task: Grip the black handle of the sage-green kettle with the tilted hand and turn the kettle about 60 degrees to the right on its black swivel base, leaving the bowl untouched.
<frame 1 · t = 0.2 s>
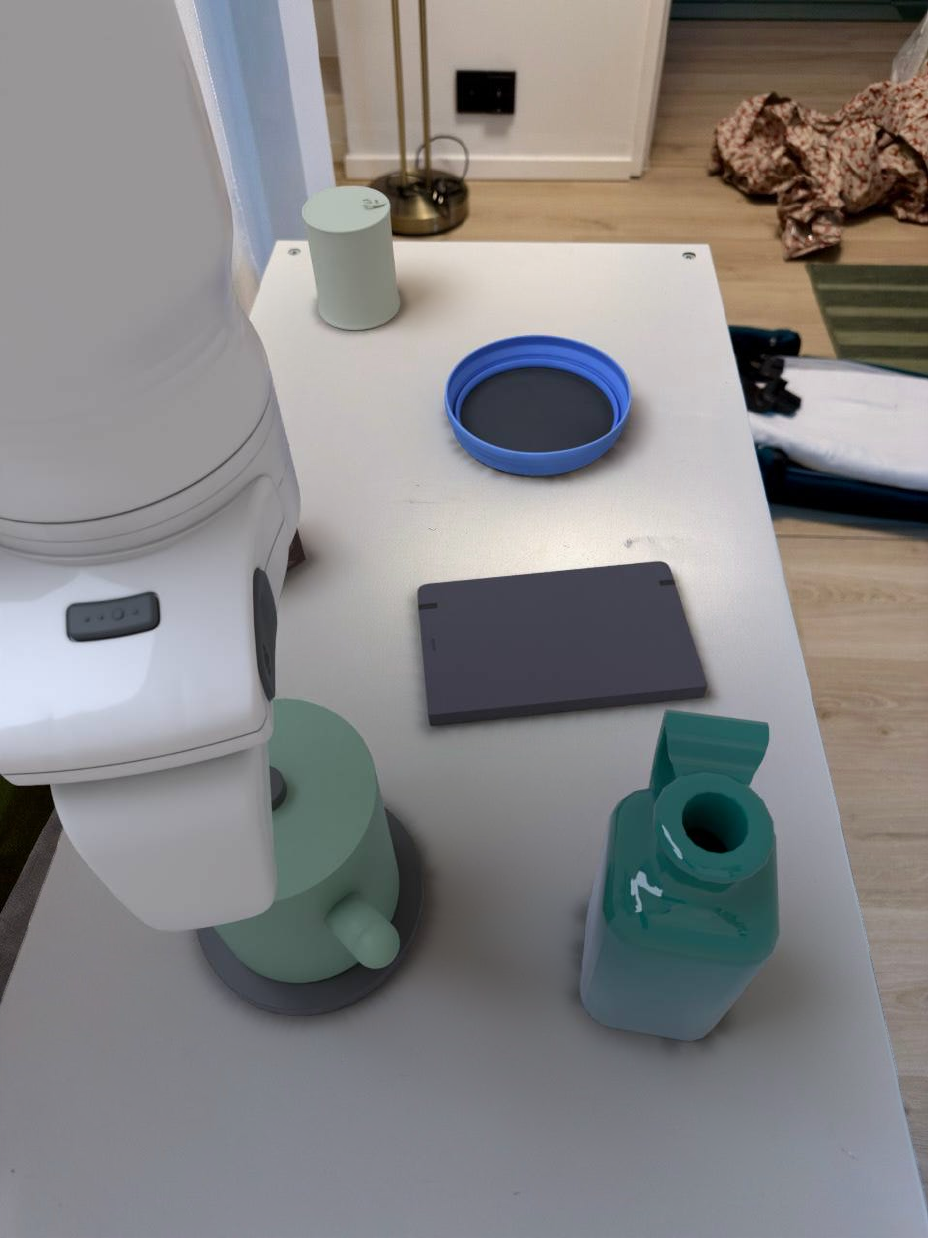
hand: (244, 726, 37), 28 cm above the table, tool pointing down, fingers open, 8 cm apart
bowl: (536, 420, 89), on the table
kettle base: (312, 897, 60), on the table
box: (260, 562, 79), on the table
can: (359, 307, 101), on the table
notebook: (554, 645, 73), on the table
kettle: (277, 830, 54), point 9 cm above the table, hinge at 0.0°
pitcher: (649, 956, 58), on the table
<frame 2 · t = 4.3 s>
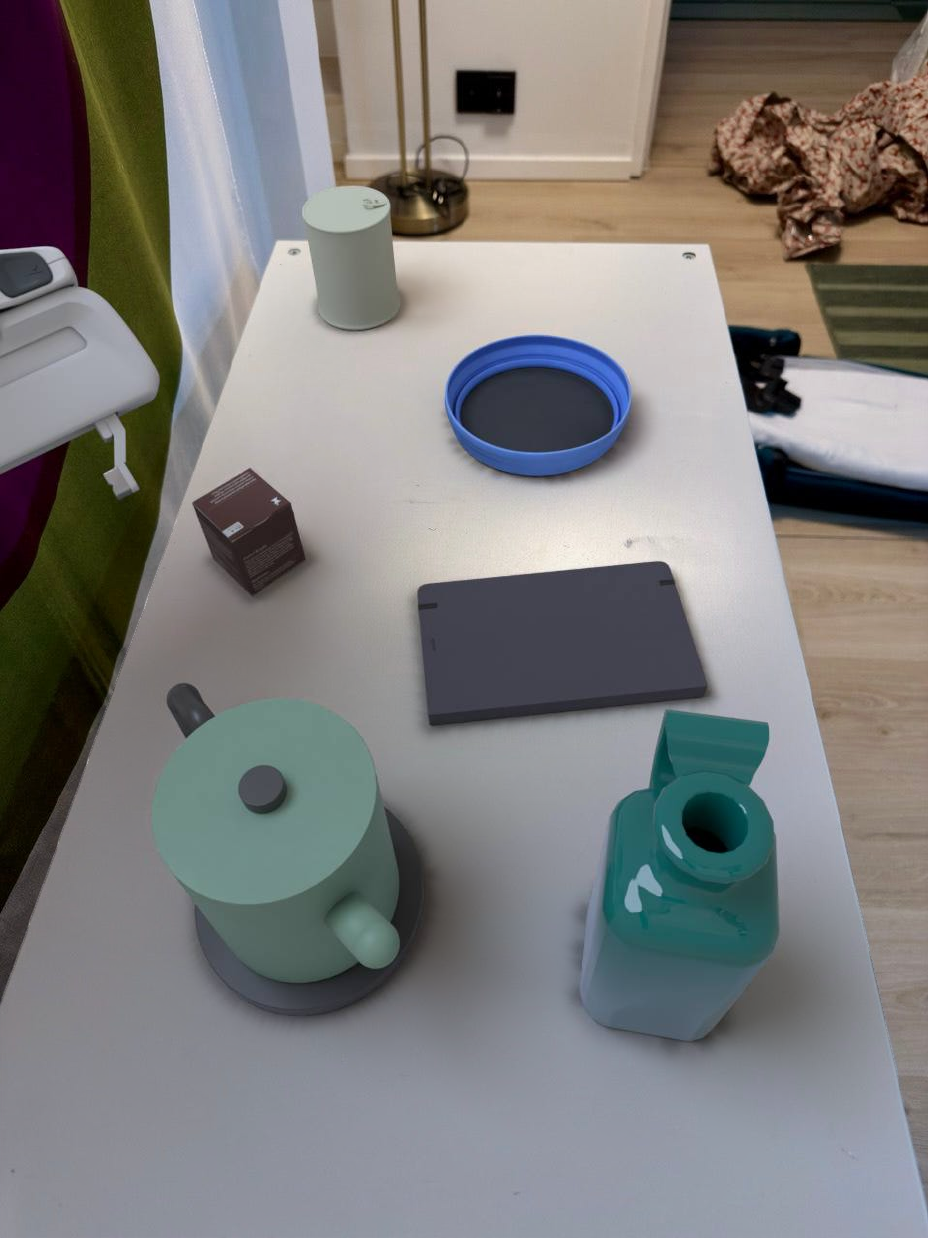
hand: (59, 530, 56), 19 cm above the table, tool tilted 45°, fingers open, 8 cm apart
nothing on the table moved.
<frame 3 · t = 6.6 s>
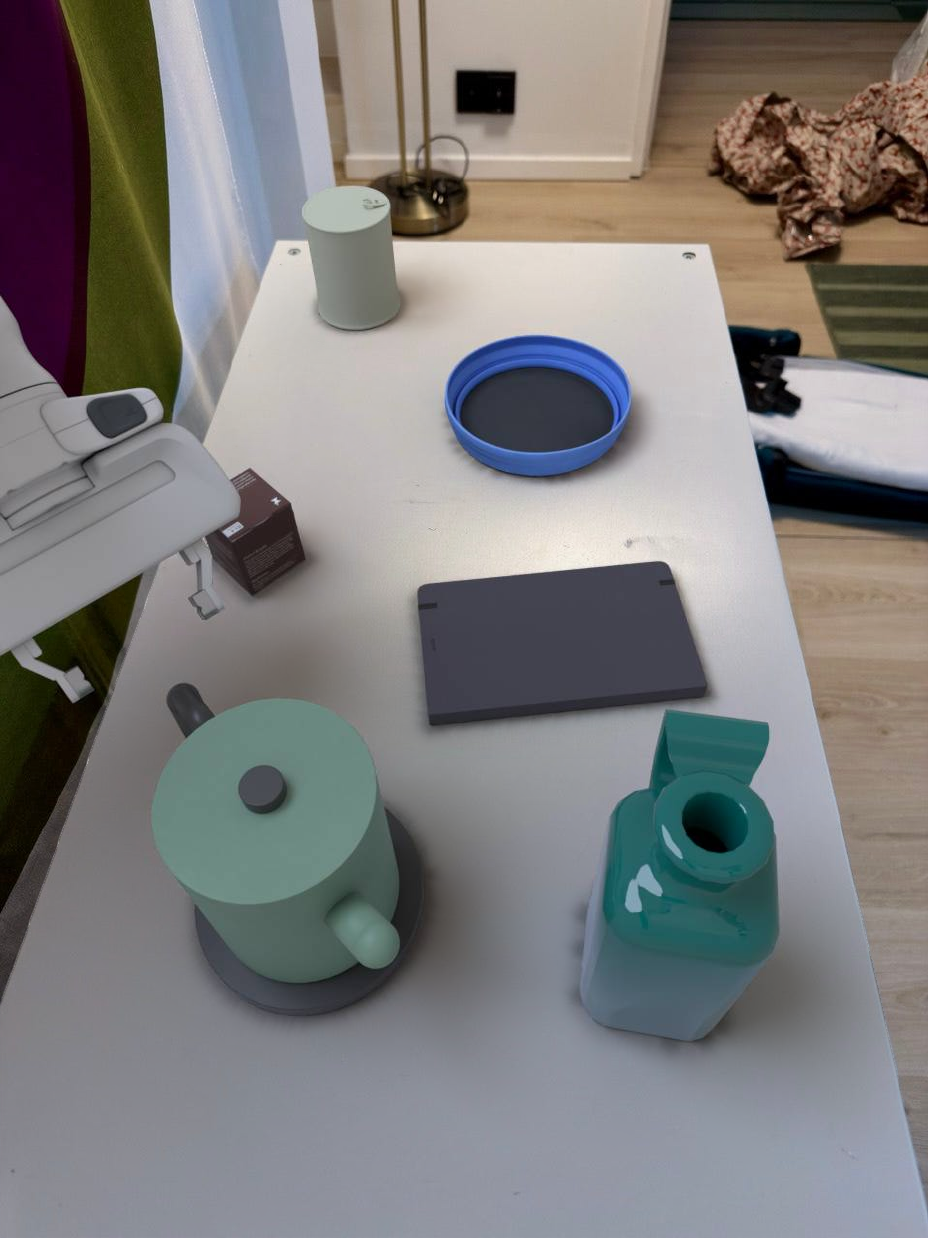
hand: (150, 654, 57), 13 cm above the table, tool tilted 45°, fingers open, 8 cm apart
nothing on the table moved.
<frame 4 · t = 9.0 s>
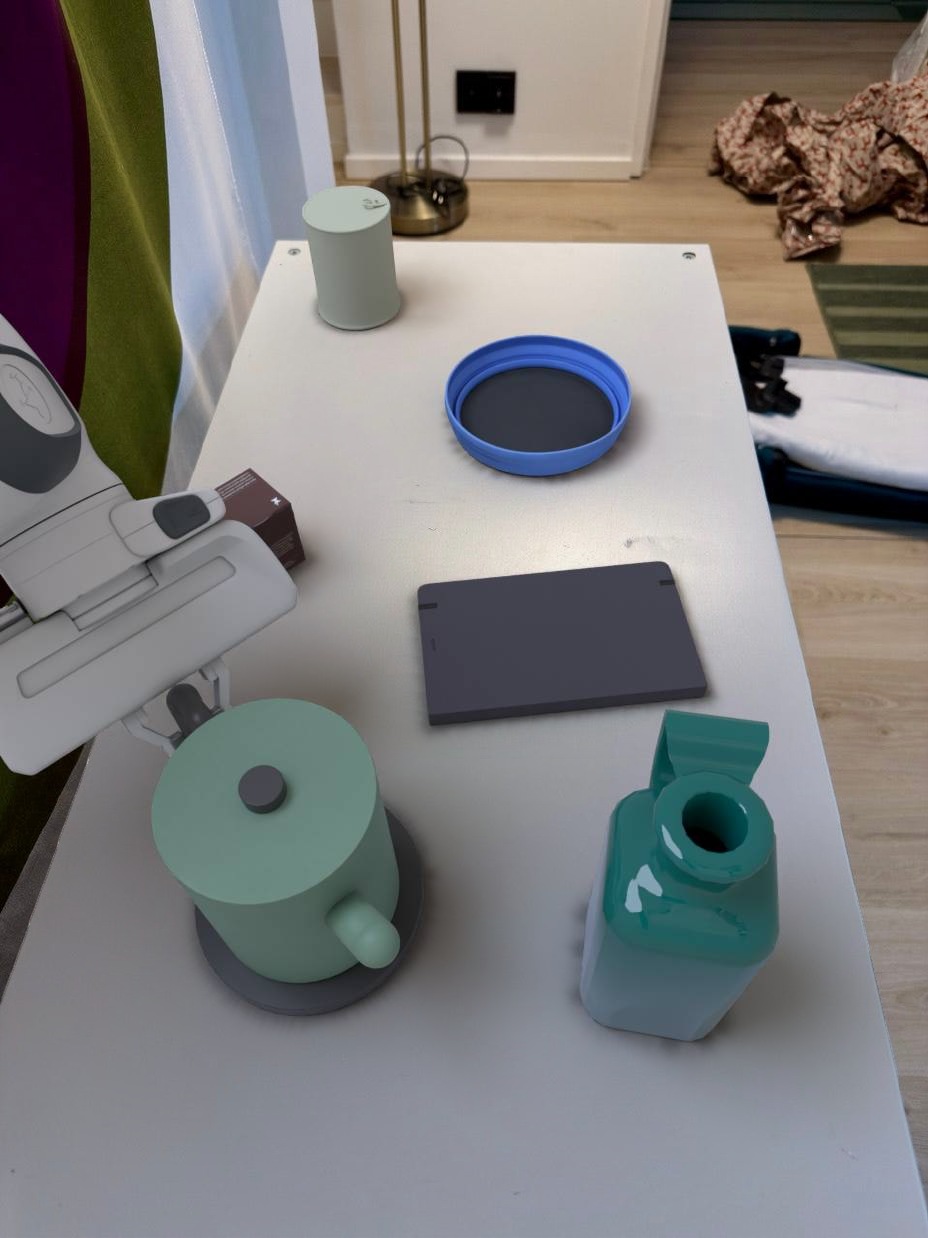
hand: (209, 745, 58), 8 cm above the table, tool tilted 45°, fingers closed on kettle, 2 cm apart
kettle: (277, 830, 54), point 9 cm above the table, hinge at -0.1°, touching gripper
everything else where it was.
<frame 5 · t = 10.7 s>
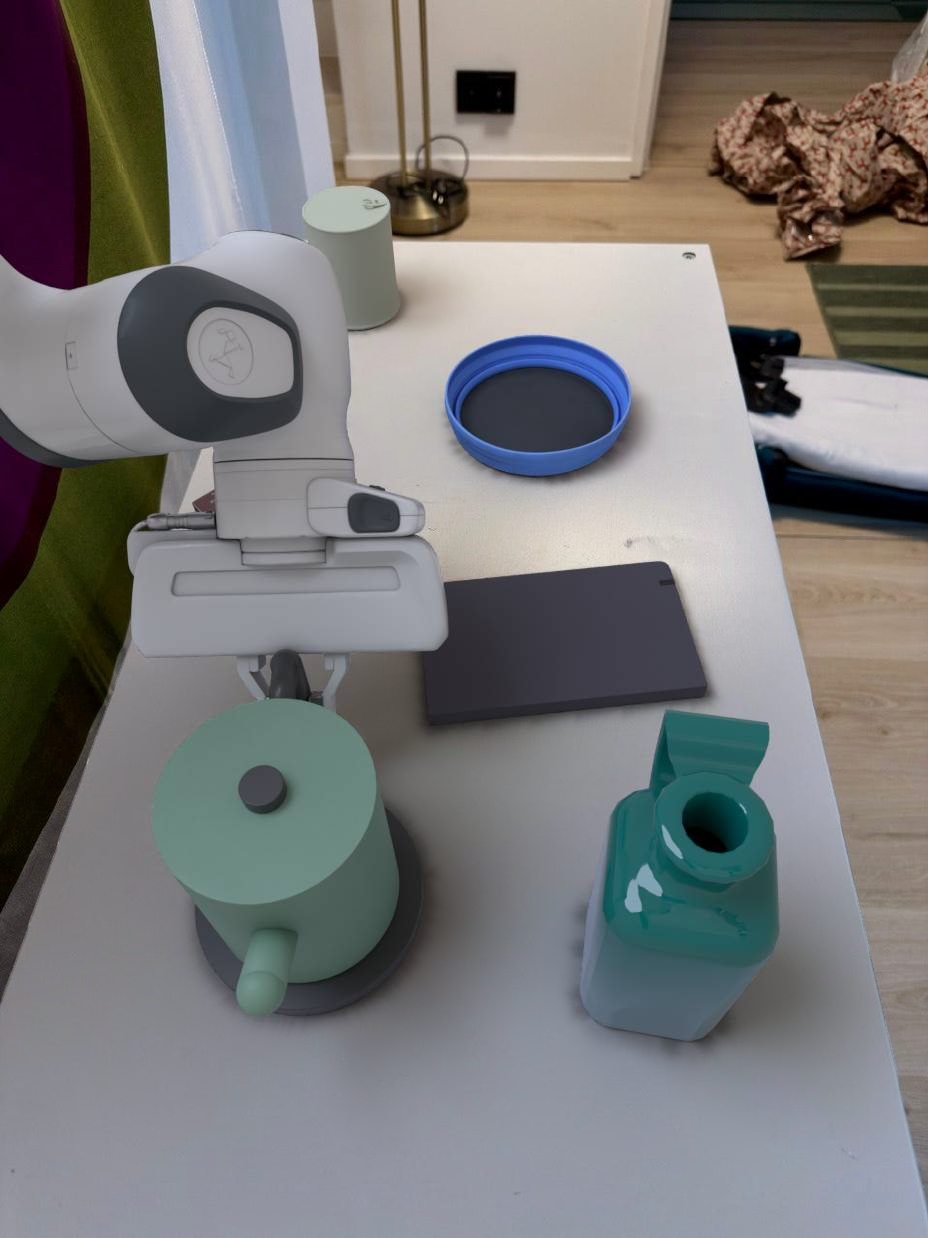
hand: (298, 720, 59), 8 cm above the table, tool tilted 45°, fingers closed on kettle, 2 cm apart
kettle: (288, 826, 54), point 9 cm above the table, hinge at 37.7°, touching gripper
everything else where it was.
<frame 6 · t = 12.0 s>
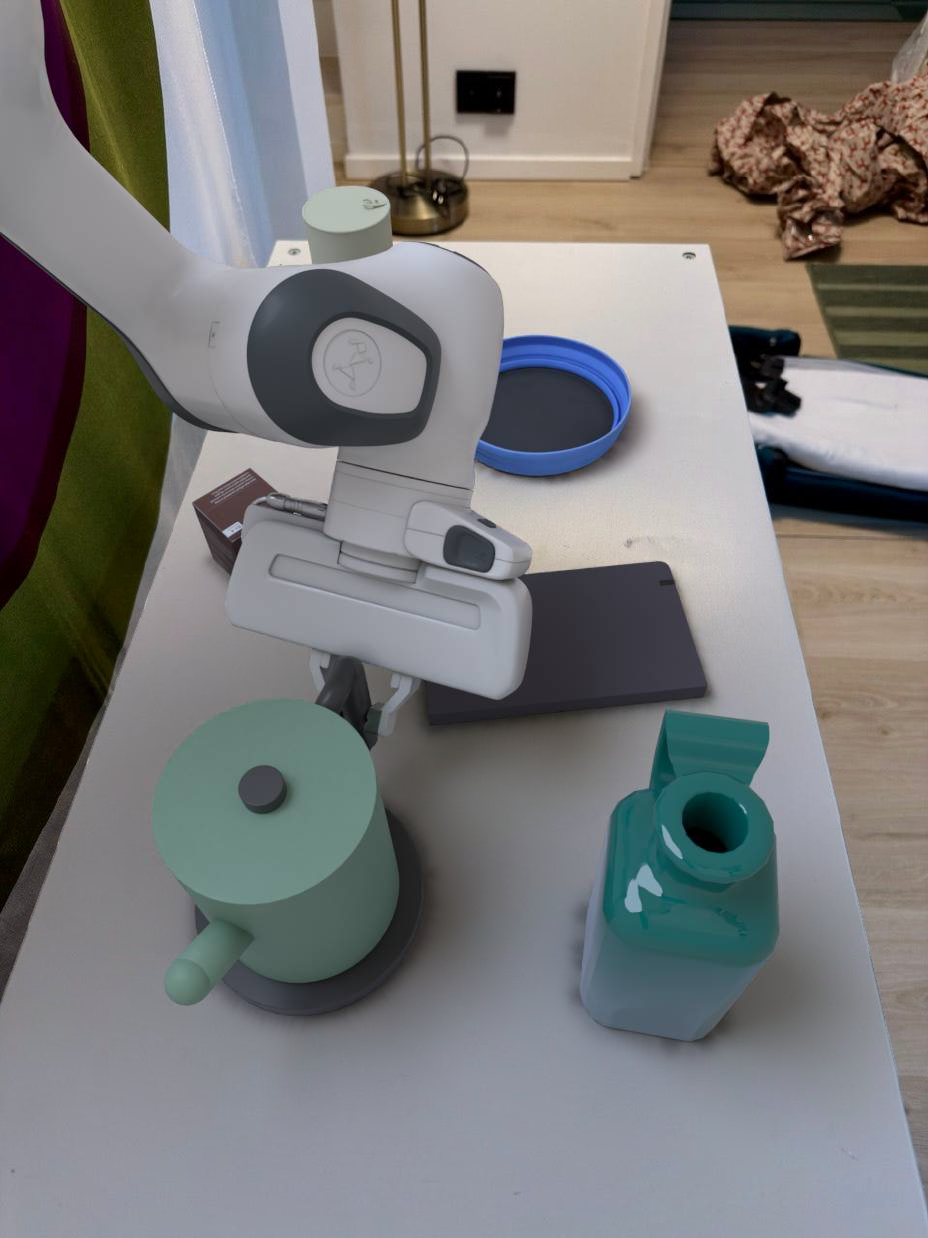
hand: (354, 725, 59), 8 cm above the table, tool tilted 45°, fingers closed on kettle, 2 cm apart
kettle: (295, 827, 54), point 9 cm above the table, hinge at 60.7°, touching gripper
everything else where it was.
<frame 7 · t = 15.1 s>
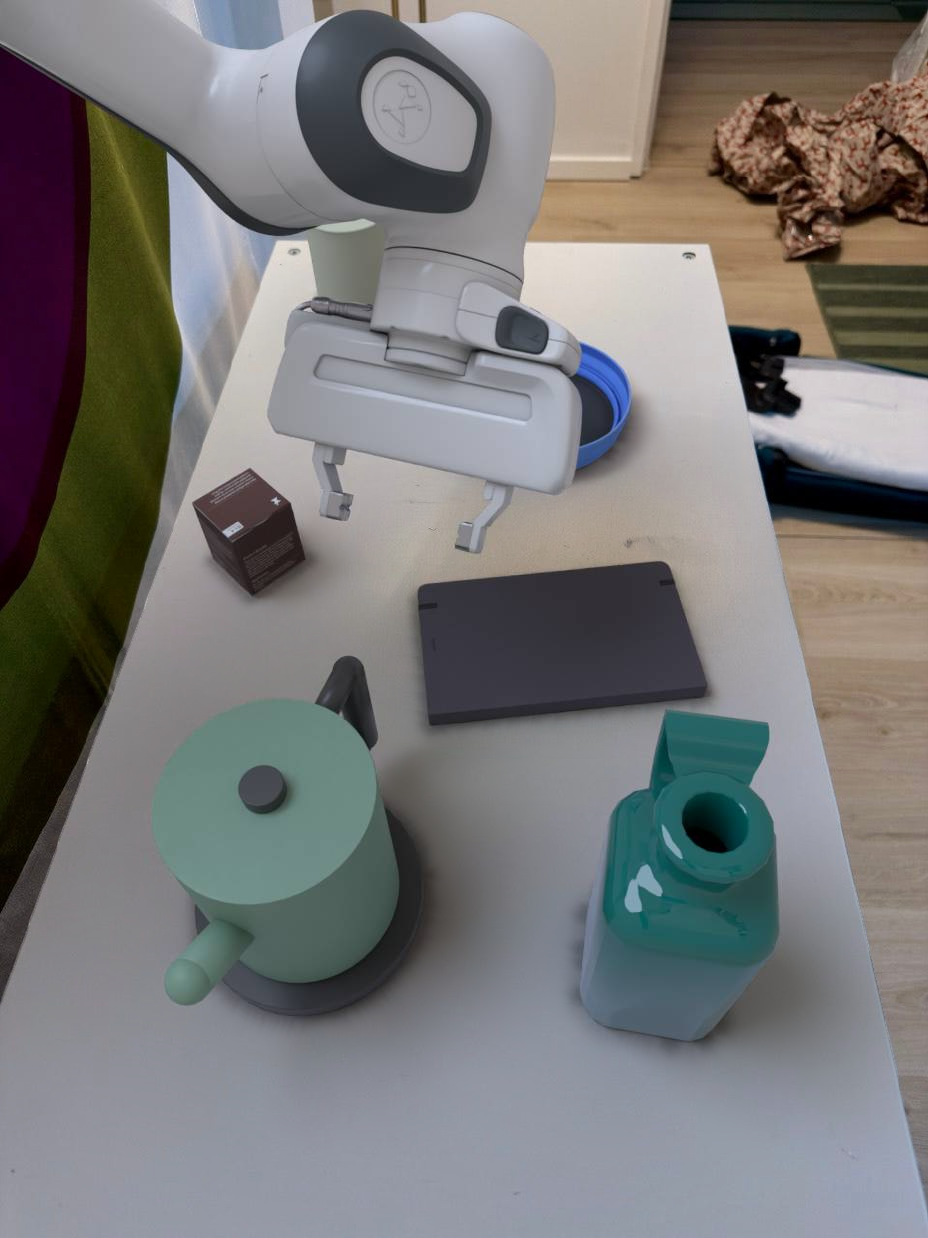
hand: (399, 534, 58), 16 cm above the table, tool tilted 45°, fingers open, 8 cm apart
kettle: (295, 827, 54), point 9 cm above the table, hinge at 60.7°
everything else where it was.
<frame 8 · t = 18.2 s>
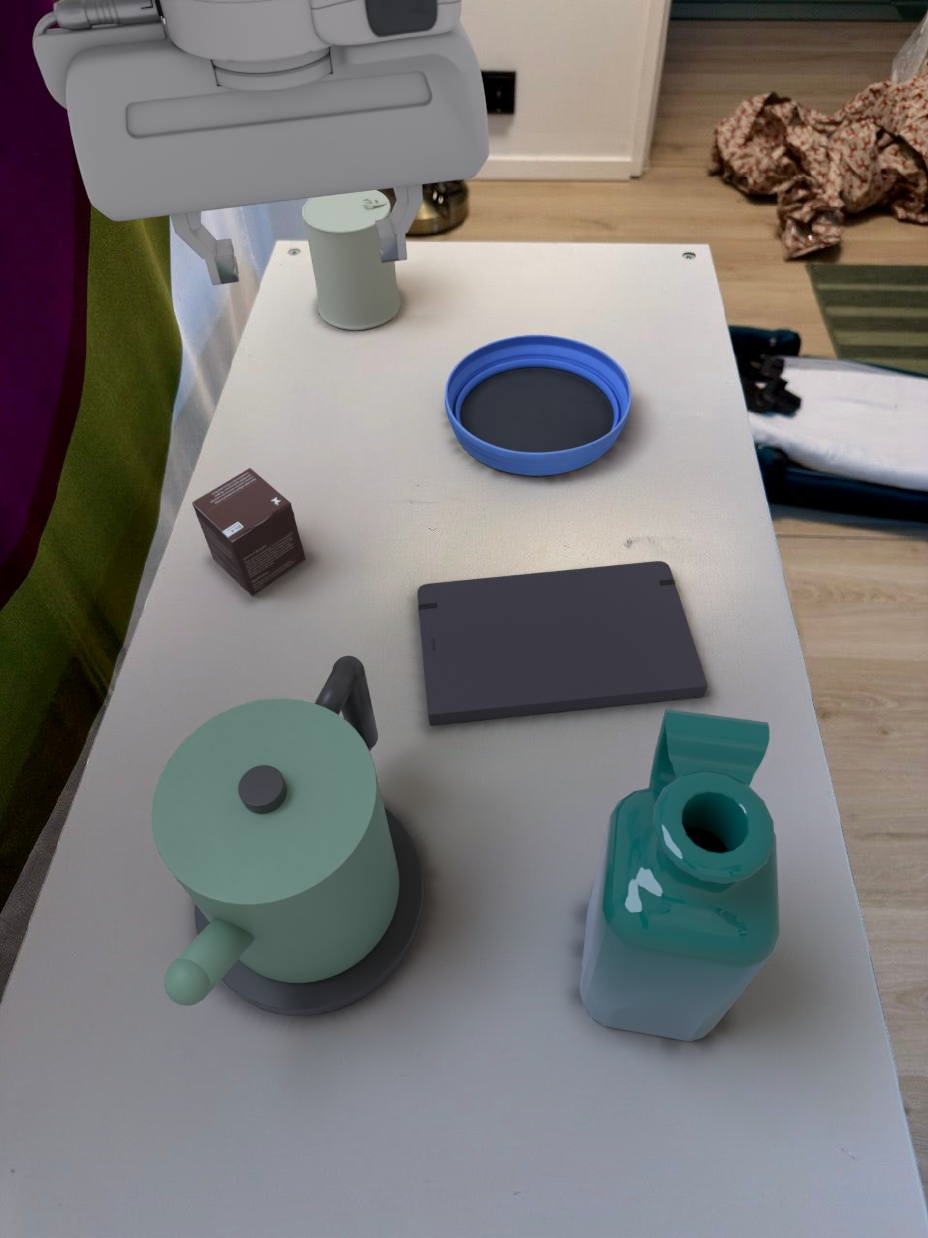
hand: (310, 267, 51), 31 cm above the table, tool pointing down, fingers open, 8 cm apart
nothing on the table moved.
at the end: kettle at +61° (first picture: +0°); bowl moved 0.2 cm from its start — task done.
